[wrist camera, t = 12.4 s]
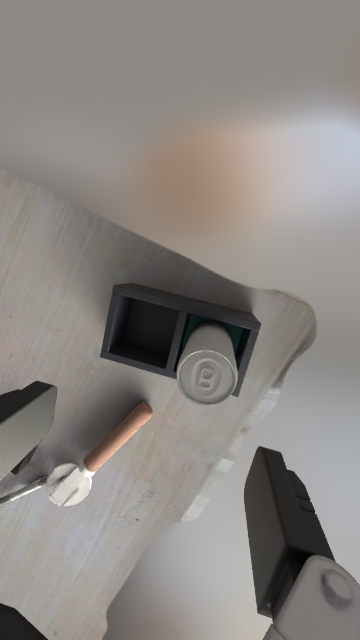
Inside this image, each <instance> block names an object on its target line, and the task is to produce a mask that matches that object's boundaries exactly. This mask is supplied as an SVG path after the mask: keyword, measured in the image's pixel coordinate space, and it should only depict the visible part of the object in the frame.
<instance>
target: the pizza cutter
mask: <svg viewBox="0 0 360 640" xmlns="http://www.w3.org/2000/svg"><path fill="white" fill-rule="evenodd" d="M152 414H153V411H152V408H151V407H150V405H149V404H147V403H145V402H141V403H140V404H138V405H137V406H136V407H135V408H134V409H133V410H132V411H131V412H130V413H129V414H128V415H127V416H126V417H125V418H124V419H123V420H122V421H121V422H120V423H119V424H118V425H117V426H116V427H115V428H114V429H113V430H112V431H111V432H110V433H109V434H108V435H107V436H106V437H105V438H104V439H103V440H102V441H101V442H100V443H99V444H98V445H97V446H96V447H95V448H94V449H93V450H92V451H91V452H90V453H89V454H88V455H86V456H85V457H84V458H83V459H82V460H81V461H80V462H79V464H77V463H73V462H69V463H63V464H61V465H59V466H57V467H56V468H55V469H54V471H53V472H52V473H51V474H50V475H49V477H48V480H47V490H48V489H49V488H50V487H51V486H52V485H53V484H54V483H55V482H56V481H57V480H58V479H59V478H60V477H61V476H66V477H65V478H64V479H63V480H62V481H61V482H60V483H59V484H58V485H57V486H56V487H55V489H54V490H53V491H52V493H51V494H50V495H49V497H48V498H49V499H51V500H52V501H53V502H54V503H55V504H56V505H57V506H58V507H59V506H60V505H61V504H62V503H63V502H64V501H65V500H66V499H67V498H68V497H69V495H70V494H71V493H72V492H73V491H74V490H75V489H76V488H77V487H78V491H77V492H76V493H75V494H74V495H73V496H72V497H71V498H70V499H69V500H68V501H67V502H66V503H65V504H64V506H73V505H75V504H78V503H80V502H81V501H82V500H83V499H85V498H86V497H87V495H88V493H89V491H90V489H91V484H92V480H91V476H92V475H93V474H94V473H95V472H96V471H97V470H98V468H99V467H100V466H101V465H102V464H103V463H104V462H105V461H106V460H107V459H108V458H109V457H110V456H111V455H112V454H113V453H114V452H115V451H117V450H118V449H119V448H120V447H121V446H122V445H123V444H124V443H125V442H126V441H127V440H128V439H129V438H130V437H131V436H132V435H133V434H134V433H135V432H136V431H137V430H138V429H139V428H140V427H141V426H142V425H143V424H144V423H145V422H146V421H147V420H148V419H149V418H150V417H151V416H152ZM67 476H68V477H67Z"/></svg>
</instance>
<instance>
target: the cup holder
mask: <svg viewBox="0 0 360 640" xmlns="http://www.w3.org/2000/svg"><path fill="white" fill-rule="evenodd" d="M204 321H216V322H219V323H221V324H223V325H224V326H225V327H226V328H227V329H228V331H229V333H230V335H231V340H232V346H233V351H234V356H235V361H236V366H237V372H238V377H237V383H236V386H235V389H234V391H233V393H232V394H231V395H232V396H235V397H238V396H239V393H240V390H241V387H242V383H243V380H244V377H245V374H246V371H247V368H248V364H249V361H250V358H251V355H252V352H253V349H254V345H255V342H256V339H257V336H258V333H259V329H260V326H261V323H260V322H259V321H258V320H257V318H256V317H255V316H254V315H253V314H250V313H246V312H242V311H238V310H234V309H230V308H227V307H223V306H219V305H215V304H211V303H207V302H204V301H200V300H196V299H192V298H188V297H184V296H181V295H177V294H173V293H169V292H165V291H161V290H158V289H154V288H150V287H146V286H142V285H138V284H134V283H127V284H119V285H114V286H113V293H112V297H111V302H110V308H109V313H108V318H107V323H106V329H105V334H104V339H103V345H102V351H101V355H100V357H101V358H105V359H108V360H112V361H115V362H119V363H122V364H125V365H129V366H132V367H136V368H139V369H143V370H146V371H149V372H153V373H156V374H160V375H163V376H167V377H170V378H174V379H177V366H178V363H179V360H180V358H181V356H182V353H183V351H184V349H185V347H186V344H187V342H188V340H189V338H190V335H191V333H192V331H193V330H194V328H195V327H196V326H197V325H198V324H200V323H202V322H204Z"/></svg>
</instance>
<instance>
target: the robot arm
mask: <svg viewBox="0 0 360 640" xmlns="http://www.w3.org/2000/svg"><path fill="white" fill-rule="evenodd" d="M56 396H57V387H56V386H54V385H50V384H47V383H44V382H40V381H35V382H33V383H32V384H30V385H28V386H27V387H25V388H24V389H22V390H19V389H18V390H14V391H11V392H8V393H5V394H2V395H1V396H0V481H1V480H2V479H3V478H4V477H5V476H6V475H7V474H8V473H9V472H10V471H11V470H12V469H13V468H14V467H15V466H16V465H17V464H18V463H19V462H20V461H21V460H22V459H23V458H24V457H25V456H26V455H27V454H28V453H29V452H30V451H31V450H32V449H33V448H34V447H35V446H36V445H37V444H38V443H39V442H40V441H41V440H42V439H43V438H44V437H45V436H46V435H47V434H48V432H49V430H50V428H51V426H52V423H53V418H54V411H55V404H56ZM244 502H245V512H246V520H247V528H248V537H249V545H250V553H251V562H252V570H253V577H254V586H255V595H256V603H257V612H258V613H259V614H261V615H264V616H267V617H270V618H272V620H273V624H271V625H270V627H269V629H268V631H267V632H266V634H265V636H264V638H263V640H360V585H359V584H358V583H357V582H356V580H355V579H354V578H353V577H352V576H351V575H350V574H349V573H348V572H347V571H346V570H345V569H344V568H343V567H342V566H340V565H339V564H338V563H336V562H335V559H334V557H333V554H332V552H331V549H330V547H329V544H328V542H327V539H326V537H325V534H324V532H323V530H322V527H321V525H320V522H319V520H318V517H317V515H316V514H315V510H314V507H313V505H312V503H311V502H310V498H309V495H308V493H307V490H306V488H305V485H304V484H303V483H302V482H301V480H300V479H299V478H298V476H297V475H296V474H295V472H293V471H290V470H287V468H286V466H285V463H284V460H283V457H282V454H281V453H280V452H278V451H275V450H271V449H267V448H264V447H261V446H259V447H258V448H257V450H256V453H255V456H254V459H253V462H252V465H251V467H250V470H249V473H248V476H247V479H246V483H245V489H244ZM0 640H48V639H47V638H46V637H45V636H44V635H43V634H42V633H41V632H39V631H38V630H37V629H36V628H35V627H34V626H33V625H32V624H31V623H30V622H29V621H28V620H27V619H26V618H25V617H24V616H22V615H21V614H20V613H19V612H18V611H17V610H16V609H15V608H12V607H9V606H7V605H4V604H1V603H0Z"/></svg>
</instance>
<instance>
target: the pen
mask: <svg viewBox="0 0 360 640" xmlns="http://www.w3.org/2000/svg"><path fill="white" fill-rule="evenodd" d="M47 480H48V477H42V478H40V479H38V480H36V481H34V482H35V483H34V482H32V483H31V484H29V485H28V486H26V487H24V488H22V489H20V490H18V491H16V492H13V493H11V494H9V495H7V496H5V497H2V498H0V506H2V505H4V504H6V503H8V502H10V501H12V500H14V499H16V498H18V497H20V496H22V495H25V494H27V493H29V492H31V491H33V490H35V489H37V488H40V487H42V486H44V485H45V484H47Z"/></svg>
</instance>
